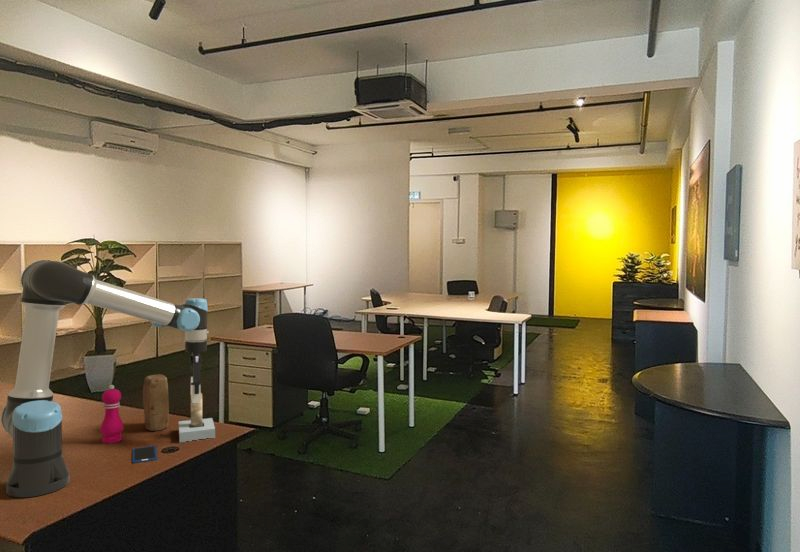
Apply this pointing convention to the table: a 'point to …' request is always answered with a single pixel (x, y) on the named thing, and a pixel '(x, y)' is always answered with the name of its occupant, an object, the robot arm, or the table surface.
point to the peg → (196, 413)
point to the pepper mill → (111, 416)
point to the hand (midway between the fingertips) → (195, 398)
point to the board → (196, 430)
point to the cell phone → (144, 454)
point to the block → (156, 402)
